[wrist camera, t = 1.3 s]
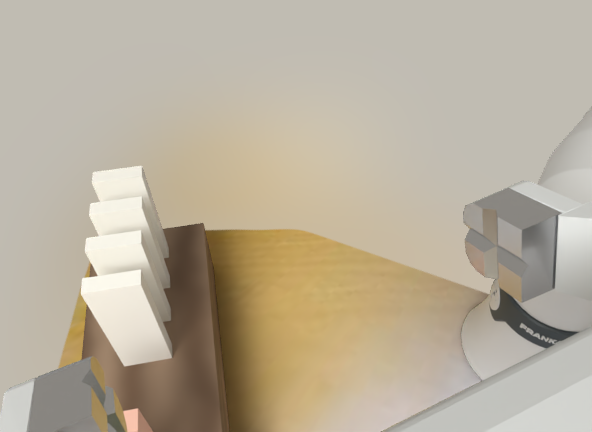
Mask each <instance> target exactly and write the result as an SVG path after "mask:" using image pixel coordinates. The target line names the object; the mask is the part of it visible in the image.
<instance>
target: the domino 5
mask: <svg viewBox="0 0 592 432" xmlns="http://www.w3.org/2000/svg"><path fill="white" fill-rule="evenodd" d="M123 413H124V417H125V421H126V425H127V432H153V431H152V429H151V428H150V426H149V424H148V423H147V421H146V420H145V418H144V417H143V415H142V414H141V412H140V411H139V409H138V408H137V409H132V410H126V411H123Z"/></svg>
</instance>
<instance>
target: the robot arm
mask: <svg viewBox="0 0 592 432" xmlns="http://www.w3.org/2000/svg"><path fill="white" fill-rule="evenodd" d="M463 219H464V223H465V225H466V226H468V227H469V228H470V230H469V232H468V234H467V236H466V238H465V248H466V254H467V256H468V258H469V260H470V263H471V264H472V266H473V267H474V268H475V269H476V270H477V271H478V272H479V273H480V274H482V275H483V276H484V277H488V278H493V279H495V280H494V282H493V285H492V287H491V291H490V294H489V296H488V297H487V298H486V299H485V300H484V301H483V302H482V303H480V304H479V305H477V306H476V307H475V308H474V309H472V310H471V311H470V313H469V314H468V315H467V317H466V318H465V321H464V323H463V326H462V331H461V341H462V347H463V351H464V353H465V356H466V358H467V360H468V362H469V364H470V365H471V367H472V368H473V370H474V371H475V372H476V374H477V375H478V376H479V377H480V378H481V379H482V380H483V381H481V382H479V383H477V384H475V385H473V386H471V387H469V388H467V389H465V390H463V391H461V392H459V393H457V394H455V395H453V396H451V397H449V398H447V399H445V400H443V401H441V402H439V403H437V404H435V405H433V406H431V407H429V408H427V409H425V410H423V411H421V412H419V413H417V414H415V415H413V416H411V417H409V418H407V419H405V420H403V421H401V422H399V423H397V424H395V425H393V426H391V427H389V428H387V429H385V430H383V431H381V432H592V107H591V108H590V109H589V110H588V112H587V113H586V114H585V116H584V117H583V119H582V120H581V121H580V122H579V123H578V125H577V126H576V127H575V128H574V129H573V130H572V131H571V132H570V133H569V135H568V136H567V137H566V138H565V139H564V140H563V141H562V143H560V145H559V146H558V147H557V148H556V149H555V150H554V152H553V153H552V155H551V157H550V158H549V160H548V162H547V164H546V166H545V168H544V171H543V173H542V175H541V177H540V179H539V182H538V184H535V183H533V182H531V181H521V182H518V183H516V184H514V185H512V186H509V187H507V188H505V189H503V190H501V191H499V192H497V193H494V194H492V195H490V196H487V197H485V198H482V199H480V200H478V201H475V202H473V203H471V204H468V205H466V206H465V209H464V212H463ZM0 432H127V425H126V421H125V417H124V413H123V409H122V407H121V404H120V402H119V399H118V397H117V395H116V393H115V391H114V389H113V388H111V387H108V386H105V379H104V371H103V369H102V367H101V365H100V364H99V362H98V360H97V359H96V358H95V357H94V356H91V357H88V358H85V359H83V360H80V361H78V362H75V363H72V364H70V365H67V366H64V367H62V368H59V369H57V370H54V371H51V372H49V373H46V374H44V375H41V376H39V377H38V378H33V379H31V380H28V381H26V382H23V383H21V384H18V385H16V386H14V387H11V388H9V389H8V390H7V391H6V392H5V394H4V398H3V404H2V409H1V414H0Z"/></svg>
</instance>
